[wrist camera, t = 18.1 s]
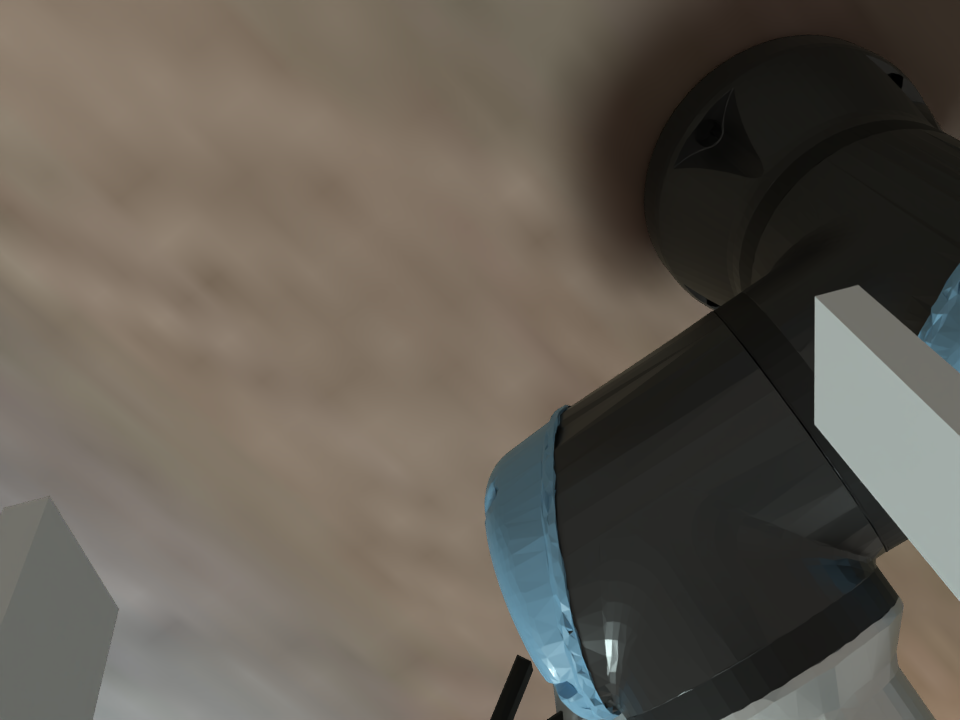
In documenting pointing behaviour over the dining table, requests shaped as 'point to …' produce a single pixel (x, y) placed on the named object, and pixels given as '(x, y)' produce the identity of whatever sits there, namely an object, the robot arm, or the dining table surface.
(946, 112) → the dining table surface
